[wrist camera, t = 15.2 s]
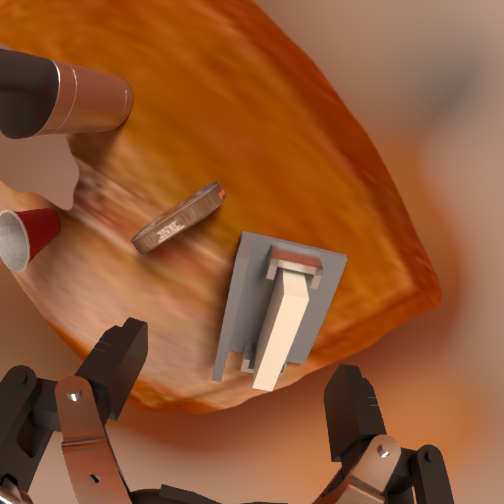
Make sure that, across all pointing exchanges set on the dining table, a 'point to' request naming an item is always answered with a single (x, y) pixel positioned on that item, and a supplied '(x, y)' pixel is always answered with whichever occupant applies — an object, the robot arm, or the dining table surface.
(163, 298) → the dining table surface
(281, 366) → the door
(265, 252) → the hinge bracket
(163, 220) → the tin
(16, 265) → the plastic cup
